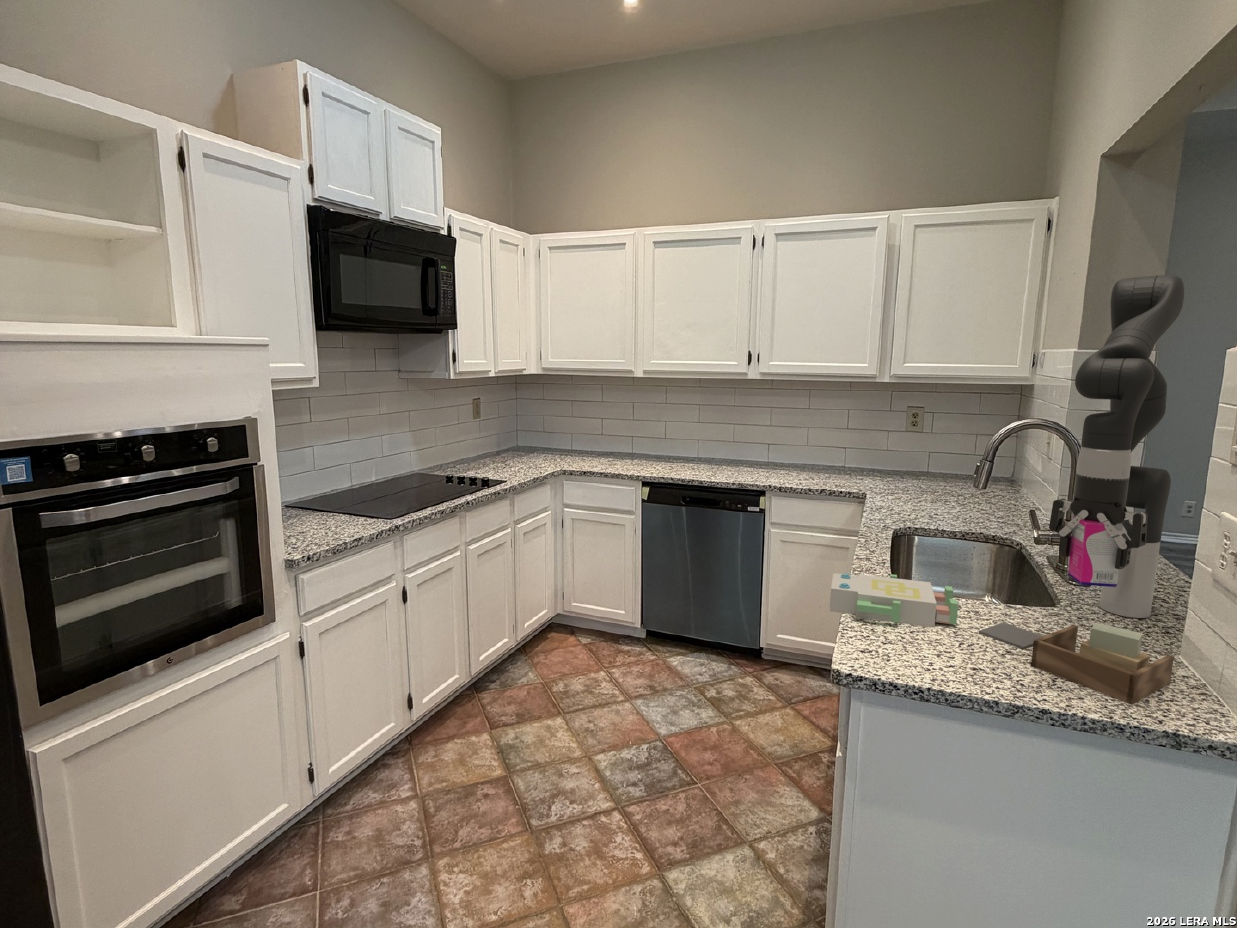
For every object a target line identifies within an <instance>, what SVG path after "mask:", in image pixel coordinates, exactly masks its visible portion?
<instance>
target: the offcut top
mask: <svg viewBox="0 0 1237 928" xmlns="http://www.w3.org/2000/svg"><path fill="white" fill-rule="evenodd" d="M1089 640H1090V641H1089V646H1090V647H1094V648H1098V649H1102V650H1105V651H1109V652H1113V653H1117V654H1121V655H1125V656H1128V657H1132V658H1137V656H1138V654H1139V652H1140V653H1141V648H1142V647H1141V646H1142V640H1143V633H1142V632H1137V631H1132V630H1130V629H1126V628H1120V627H1117V626H1111V625H1108V624H1103V623H1100V622H1095V623H1094V624H1093V625H1092V627H1091V628H1090V634H1089Z"/></svg>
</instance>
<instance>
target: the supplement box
mask: <svg viewBox="0 0 1237 928" xmlns="http://www.w3.org/2000/svg"><path fill="white" fill-rule="evenodd" d="M1074 517H1075V515H1073V517H1072V519H1073V518H1074ZM1108 526H1109V525H1108ZM1114 527H1115V528H1116V529H1117V530H1118V531H1119V530H1121V531H1122V530H1123V524H1121V523H1118V524H1116V525H1115V526H1114ZM1071 536H1072V537H1071V548H1070V556H1069V561H1068V569H1067V570H1068V571H1067V574H1068V576H1070V578H1072V579H1073V580H1074V581H1076V582H1077V583H1078V584H1079V585H1080V586H1091V587H1092V586H1095V587H1102V586H1107V587H1117V580H1118V570H1119V569H1116V568H1115V562H1116V554H1117V548H1120V547H1119V546H1118V545H1117V543H1116V541H1115V540H1114V539H1113V538H1112V537H1111V536H1110V535H1109V533H1108V532H1107V530H1106V529H1105V524H1104V523H1101V522H1098V521H1092V520H1085V519H1084V520H1080V521H1079V524H1078V525H1077V527H1076V528H1075V529H1074V530H1072V534H1071Z"/></svg>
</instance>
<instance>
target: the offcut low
mask: <svg viewBox="0 0 1237 928" xmlns="http://www.w3.org/2000/svg"><path fill="white" fill-rule="evenodd" d="M1089 641H1090V639H1088V640H1085V641H1083V642H1081V643H1080V647H1079V654H1080V655H1083V656H1086V657H1089V658H1092V659H1095V660H1098V661H1101V662H1103V663H1106V664H1109V665H1112V666H1115V667H1118V668H1121V669H1124V670H1126V671H1129V672H1132V673H1134V672H1136V671H1138V670H1139V669H1141V668H1143V667H1145V666H1147V665H1149V664H1151V663H1150V661H1151V655H1149V654H1145V653H1143V652H1141V651H1140V652H1139V654H1138V656H1137V658H1132V657H1128V656H1125V655H1121V654H1117V653H1113V652H1109V651H1105V650H1102V649H1098V648H1094V647H1090V646H1089Z"/></svg>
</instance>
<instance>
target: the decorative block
mask: <svg viewBox="0 0 1237 928" xmlns="http://www.w3.org/2000/svg"><path fill="white" fill-rule="evenodd" d="M889 576H890V577H886V576H879V575H878V576H877V575H867V574H859V573H858V575H854V574H853V575H851V574H848V573H836V572H835V573H834V572H833V573H832V581H831V586H830V597H829V599H830V600H829V612H834V613H840V614H848V615H854V614H856V615H855V616H856V617H855V618H862V619H868V620H874V621H875V620H876V621H883V622H891V623H896V624H897V623H898V624H903V625H905V624H906V625H912V626H919V627H927V628H928V627H929V628H935V627H936V626H935V625H936V623H941V624H948V625H957V621H958V611H959V603H958V600H957V599H956V598H954V589H953V587H952V586H949V585H945V586H944V592H937V591H934V590H933V586H932V583H931V582H930V581H920V580H913V579H912V580H911V579H904V578H898V574H890V575H889Z"/></svg>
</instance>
